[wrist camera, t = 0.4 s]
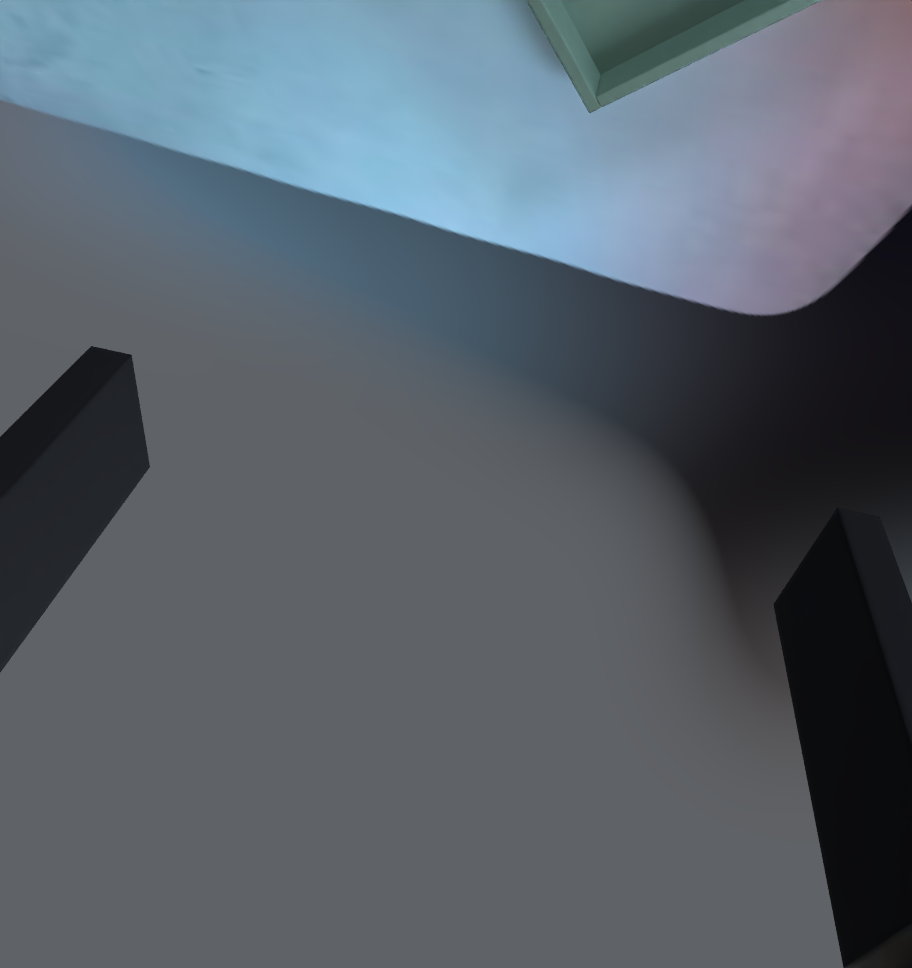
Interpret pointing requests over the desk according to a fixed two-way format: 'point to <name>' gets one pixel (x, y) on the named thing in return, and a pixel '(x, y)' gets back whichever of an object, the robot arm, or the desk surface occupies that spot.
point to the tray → (645, 37)
